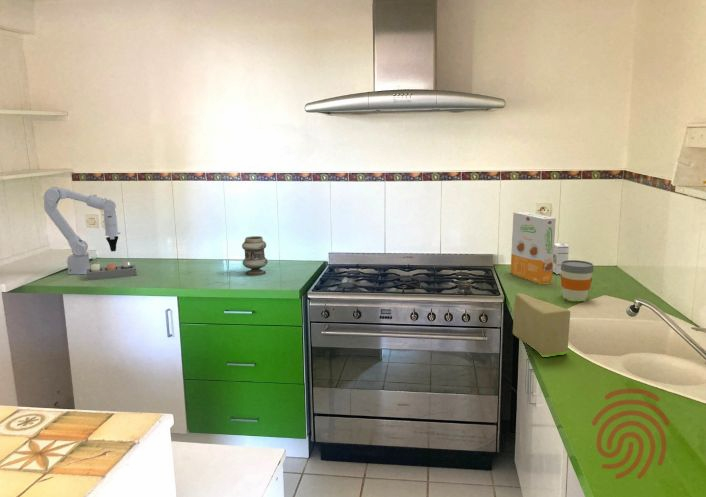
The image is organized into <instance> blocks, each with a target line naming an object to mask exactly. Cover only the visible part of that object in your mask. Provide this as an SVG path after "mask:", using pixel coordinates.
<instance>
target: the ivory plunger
mask: <svg viewBox="0 0 706 497" xmlns="http://www.w3.org/2000/svg"><path fill="white" fill-rule="evenodd" d="M100 268H101V264H100V263H92V264H90V269H91V272H95V271H100Z"/></svg>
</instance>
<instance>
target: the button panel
mask: <svg viewBox="0 0 706 497" xmlns="http://www.w3.org/2000/svg"><path fill="white" fill-rule="evenodd" d="M85 275H86V281H91V280H92V281H93V280H103V279H114V278H124V277H135V276H137V267H136V264H131V268H127V269H123V268H122V265H117V266H116V270H107V266H106V267H100V271H95V272H91V268H90V269H87V272H86V274H85Z"/></svg>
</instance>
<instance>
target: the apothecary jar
mask: <svg viewBox="0 0 706 497" xmlns="http://www.w3.org/2000/svg"><path fill="white" fill-rule="evenodd" d="M266 248H267V242H266V241H264V238H263V236H260V235H259V236H258V235H257V236H254V235H253V236H251V235H250V236H246V237H245V238H244V242H242V244H241V249H243V250H244V259H243V260H242V265H243V266H244V267H245V268H247V269H249V270H247V271H246V272H245V274H246V276H252V277H256V276H257V277H258V276H262V275H265V274H266V270H264V269H262V268H264V267H265V266H267V264H268V258H266V256H265V255H266V254H265V249H266Z"/></svg>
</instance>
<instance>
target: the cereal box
mask: <svg viewBox="0 0 706 497" xmlns="http://www.w3.org/2000/svg"><path fill="white" fill-rule="evenodd" d="M512 215H513V216H512V217H513V218H512V232H511V233H512V234H511V235H512V236H511V238H512V239H511V255H510V256H511V258H510V273H513V274H515V275H518V276H520V277H519V278H521V277H523V278H525V279H524V280H526V279H528V280H527V281H529V280H531V281H533V282H532V283H534V282H536V283H539V284H543V283H551V282H552V280H553V272H552V269H553V254H554V244H555V236H556V234H555V233H556V224H557V223H556V218H555V217H552V216H547V215H542V214H538V213H532V212H528V211H515V212H513V213H512ZM513 274H512V275H513ZM515 275H514V276H515ZM518 276H517V277H518ZM523 278H522V279H523ZM531 281H530V282H531ZM536 283H535V284H536ZM539 284H538V285H539Z"/></svg>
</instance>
